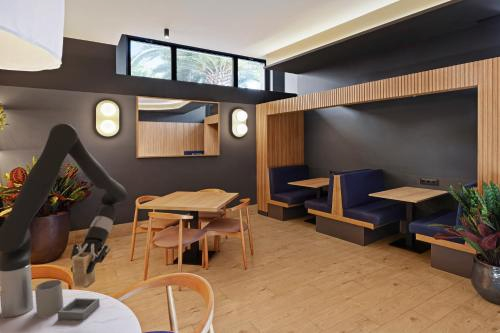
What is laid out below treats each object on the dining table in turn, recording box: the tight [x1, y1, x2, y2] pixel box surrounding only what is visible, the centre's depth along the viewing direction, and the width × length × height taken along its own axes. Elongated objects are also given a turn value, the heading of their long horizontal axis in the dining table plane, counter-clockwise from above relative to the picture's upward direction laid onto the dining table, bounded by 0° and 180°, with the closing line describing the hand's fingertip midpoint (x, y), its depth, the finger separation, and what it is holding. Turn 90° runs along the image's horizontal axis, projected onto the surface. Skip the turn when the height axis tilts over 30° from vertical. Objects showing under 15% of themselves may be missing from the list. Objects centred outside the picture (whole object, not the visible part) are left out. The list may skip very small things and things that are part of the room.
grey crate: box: [57, 297, 101, 322], centre depth 110 cm, size 10×10×3 cm
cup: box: [34, 279, 64, 318], centre depth 112 cm, size 8×8×10 cm
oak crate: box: [71, 252, 96, 289], centre depth 108 cm, size 5×5×11 cm
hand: (80, 272), depth 106 cm, fingers closed on oak crate, 5 cm apart
